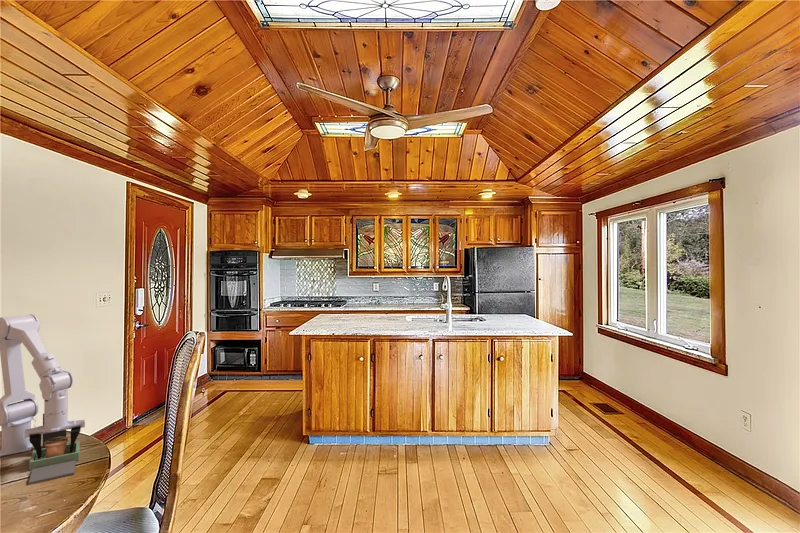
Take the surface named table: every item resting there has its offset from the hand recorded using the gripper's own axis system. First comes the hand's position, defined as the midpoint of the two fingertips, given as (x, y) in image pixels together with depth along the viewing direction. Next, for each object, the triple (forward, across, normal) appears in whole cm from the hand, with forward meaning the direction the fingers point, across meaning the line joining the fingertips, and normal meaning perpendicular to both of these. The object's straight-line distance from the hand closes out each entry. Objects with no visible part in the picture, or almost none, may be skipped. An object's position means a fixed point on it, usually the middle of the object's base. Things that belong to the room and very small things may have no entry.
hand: (55, 454), depth 131 cm
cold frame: (+2, 0, 0) cm, 2 cm away
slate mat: (+2, 0, -10) cm, 10 cm away
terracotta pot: (+2, 0, 0) cm, 2 cm away
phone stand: (+2, -1, +10) cm, 11 cm away
